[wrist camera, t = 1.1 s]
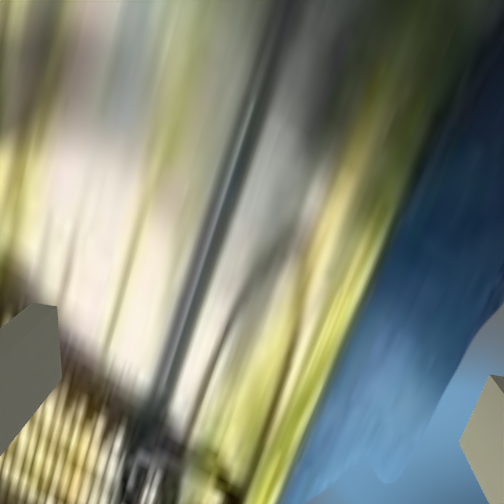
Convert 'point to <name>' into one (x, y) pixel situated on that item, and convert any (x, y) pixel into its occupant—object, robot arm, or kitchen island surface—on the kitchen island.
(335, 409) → the kitchen island surface
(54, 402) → the kitchen island surface
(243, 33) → the kitchen island surface
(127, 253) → the kitchen island surface
